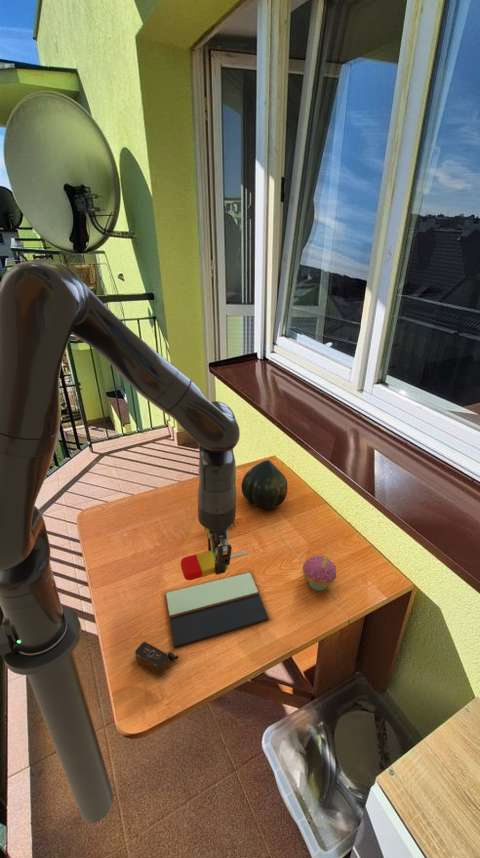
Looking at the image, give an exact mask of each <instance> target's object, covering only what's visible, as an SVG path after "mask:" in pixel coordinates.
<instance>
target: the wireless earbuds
mask: <svg viewBox="0 0 480 858" xmlns="http://www.w3.org/2000/svg"><path fill="white" fill-rule="evenodd" d="M134 654H135V655H134V656H135V660H136V663H137V664H139V665H140V666H142V667H144V668H146V669H147V670H149V671H151V672H152V673H154V674H155V675H157V676H162V675H163V674H164V672H165V671H166V670H167V668H169V661H170V663H173V662H175V661H177V660H178V659H179V658H180V657H179V655H177V654H176V655H175V654H174V653H173V652H172V651H169V652H167V653H166V652H165V651H163V650H161V649H159V648H157V647H155V646H153V645H152V644H150V643H148V642H147V641H143V642H142V643H140V645H139V646H138V647H137V648H136V649H135V651H134Z"/></svg>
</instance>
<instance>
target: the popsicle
mask: <svg viewBox="0 0 480 858" xmlns="http://www.w3.org/2000/svg"><path fill="white" fill-rule="evenodd" d="M249 553H250V552H249V550H248V549H246V550H242V551H238V552H235V553H231V557H230V560H232V559H235V558H239V557H242V556H247V555H248V554H249ZM180 568H181V573H182V575H183V578H184V579H185V580H186V581H194V580H196V579H200V578H204V577H207V576H210V575H214V574H215V562H214V553H213V552H212V550H210V551H208V550H206V551H203V552H198V553H195V554H192V555H187V556H184V557H183V558H181V560H180ZM228 569H229V565H226V571H227V570H228Z"/></svg>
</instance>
